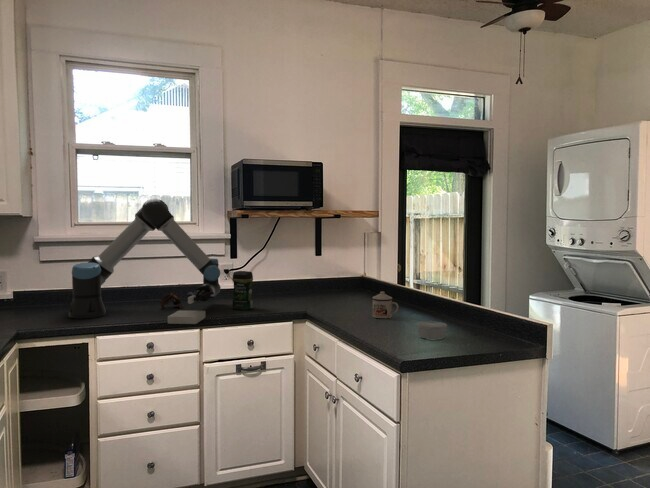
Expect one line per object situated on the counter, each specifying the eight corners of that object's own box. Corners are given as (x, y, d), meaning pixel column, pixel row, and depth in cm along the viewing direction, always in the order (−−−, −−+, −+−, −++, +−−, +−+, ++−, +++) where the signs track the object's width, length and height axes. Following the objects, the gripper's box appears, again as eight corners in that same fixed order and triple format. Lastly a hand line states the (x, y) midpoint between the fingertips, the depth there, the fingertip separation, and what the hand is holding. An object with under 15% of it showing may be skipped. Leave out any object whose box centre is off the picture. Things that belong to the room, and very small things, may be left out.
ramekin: (442, 334, 195) (442, 320, 195) (450, 341, 184) (450, 327, 184) (413, 334, 195) (413, 320, 195) (420, 341, 184) (420, 327, 184)
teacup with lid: (369, 318, 225) (369, 292, 224) (376, 314, 233) (376, 289, 232) (395, 320, 220) (395, 294, 219) (401, 317, 228) (401, 291, 227)
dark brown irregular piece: (180, 310, 244) (171, 296, 242) (164, 318, 246) (154, 304, 244) (187, 300, 256) (178, 286, 254) (172, 308, 258) (163, 294, 255)
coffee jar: (230, 309, 245) (229, 271, 244) (237, 307, 252) (237, 269, 251) (248, 310, 242) (248, 272, 241) (255, 308, 249) (255, 270, 248)
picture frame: (179, 317, 227) (167, 324, 213) (178, 310, 226) (167, 316, 212) (205, 318, 226) (195, 324, 212) (205, 310, 226) (195, 316, 212)
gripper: (218, 300, 246) (204, 309, 222) (192, 300, 246) (175, 308, 223) (218, 285, 245) (204, 292, 222) (192, 284, 246) (174, 291, 222)
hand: (189, 300), depth 222 cm, fingers closed
